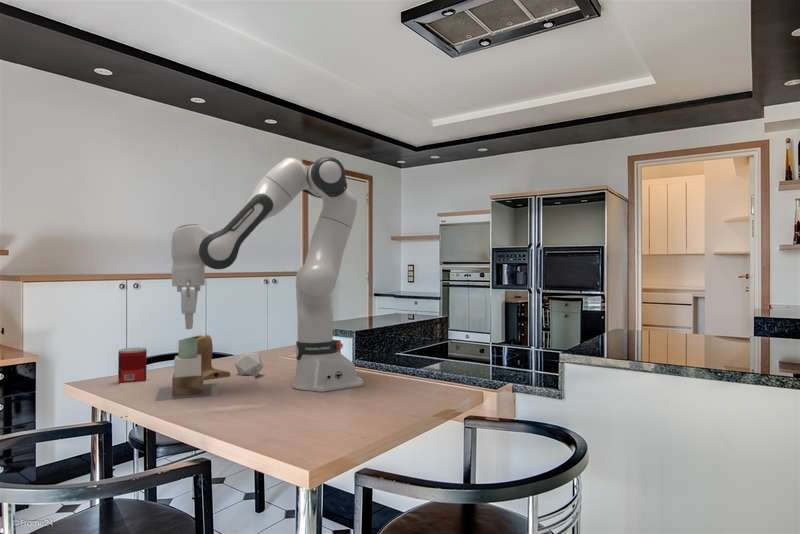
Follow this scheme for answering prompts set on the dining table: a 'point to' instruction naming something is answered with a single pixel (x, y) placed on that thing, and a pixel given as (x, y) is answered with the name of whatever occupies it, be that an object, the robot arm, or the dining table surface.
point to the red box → (132, 365)
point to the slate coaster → (167, 395)
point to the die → (249, 364)
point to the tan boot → (207, 358)
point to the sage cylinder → (187, 348)
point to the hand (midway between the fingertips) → (189, 327)
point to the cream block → (187, 367)
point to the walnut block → (187, 385)
